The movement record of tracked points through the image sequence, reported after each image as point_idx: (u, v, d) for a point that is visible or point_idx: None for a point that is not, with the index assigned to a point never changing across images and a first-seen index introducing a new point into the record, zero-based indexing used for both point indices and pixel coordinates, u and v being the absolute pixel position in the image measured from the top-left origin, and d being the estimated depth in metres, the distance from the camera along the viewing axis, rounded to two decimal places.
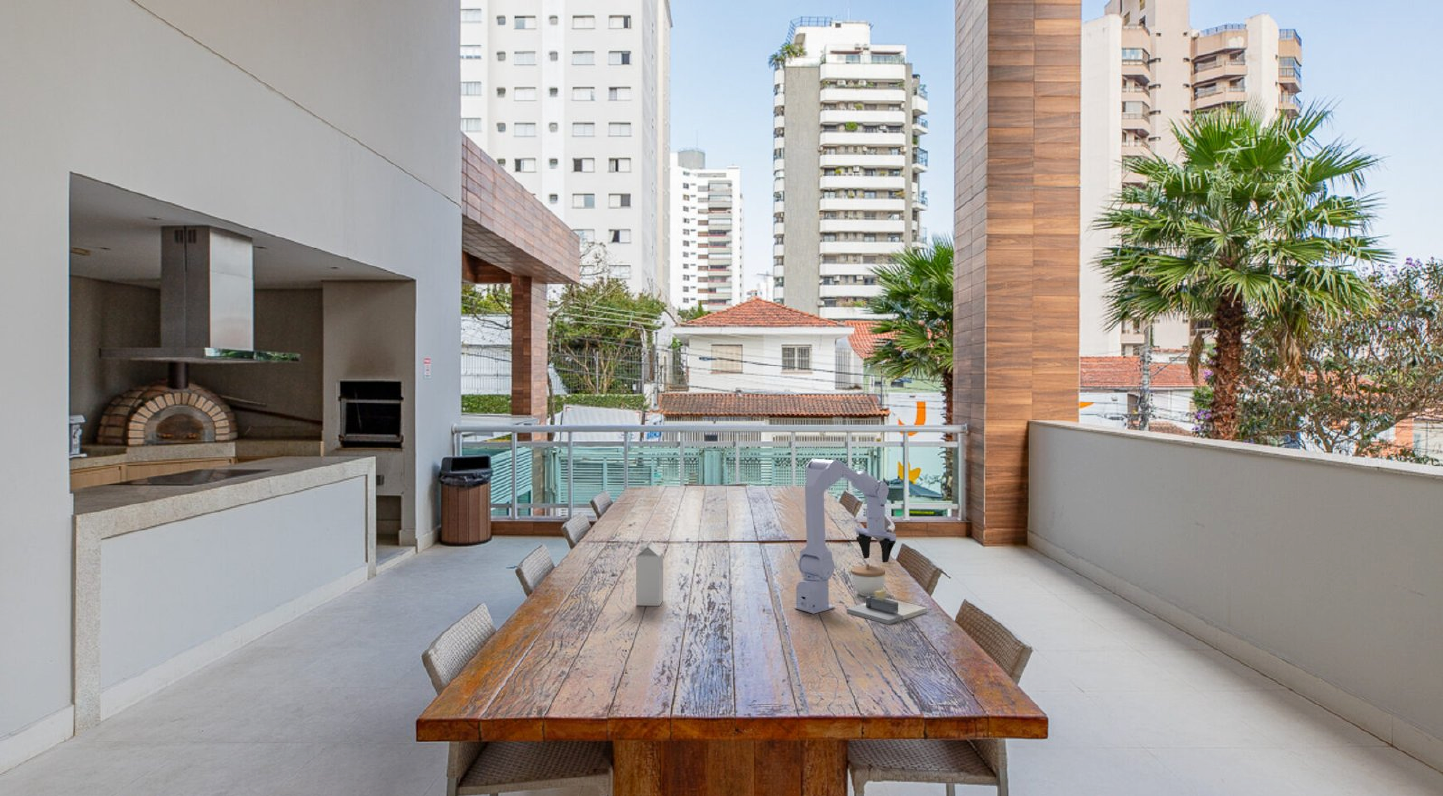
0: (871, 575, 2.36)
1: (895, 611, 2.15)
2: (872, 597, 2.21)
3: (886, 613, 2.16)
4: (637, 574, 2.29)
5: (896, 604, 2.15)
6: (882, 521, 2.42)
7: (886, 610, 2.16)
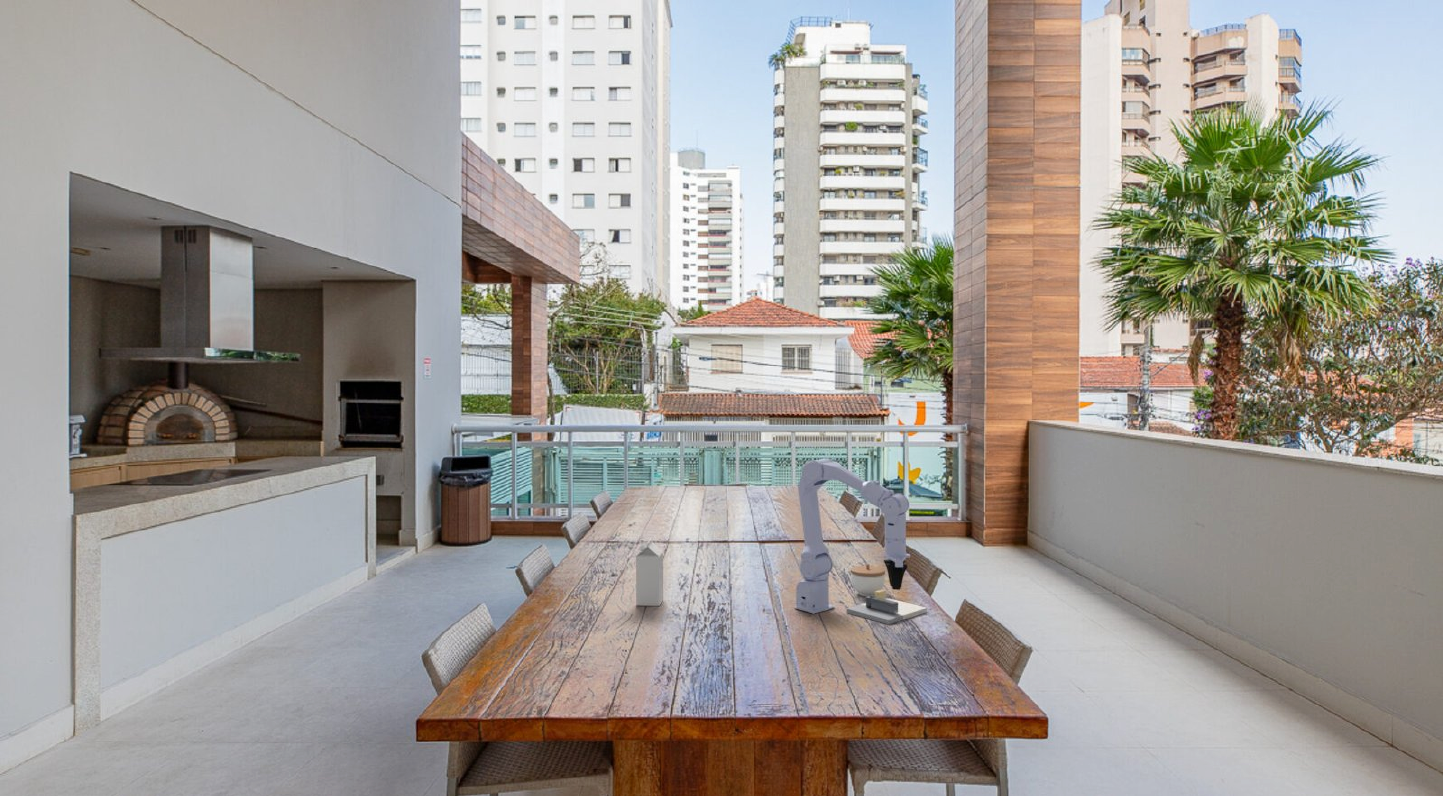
0: (871, 575, 2.36)
1: (895, 611, 2.15)
2: (872, 597, 2.21)
3: (886, 613, 2.16)
4: (637, 574, 2.29)
5: (896, 604, 2.15)
6: (896, 543, 2.08)
7: (886, 610, 2.16)
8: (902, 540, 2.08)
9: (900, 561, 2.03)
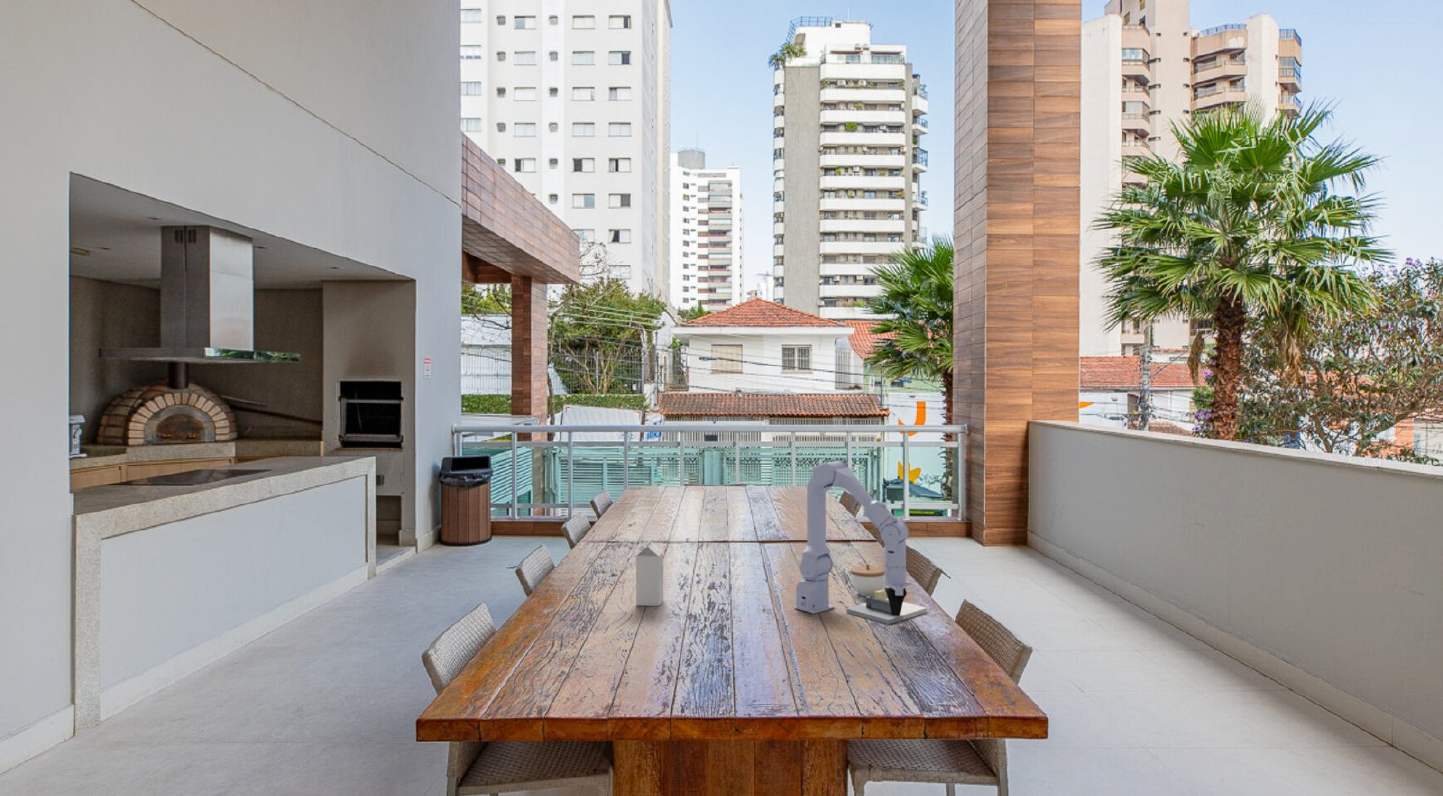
0: (871, 575, 2.36)
1: None
2: (872, 597, 2.21)
3: (886, 613, 2.16)
4: (637, 574, 2.29)
5: None
6: (896, 571, 2.08)
7: (886, 610, 2.16)
8: (902, 568, 2.08)
9: (900, 589, 2.03)
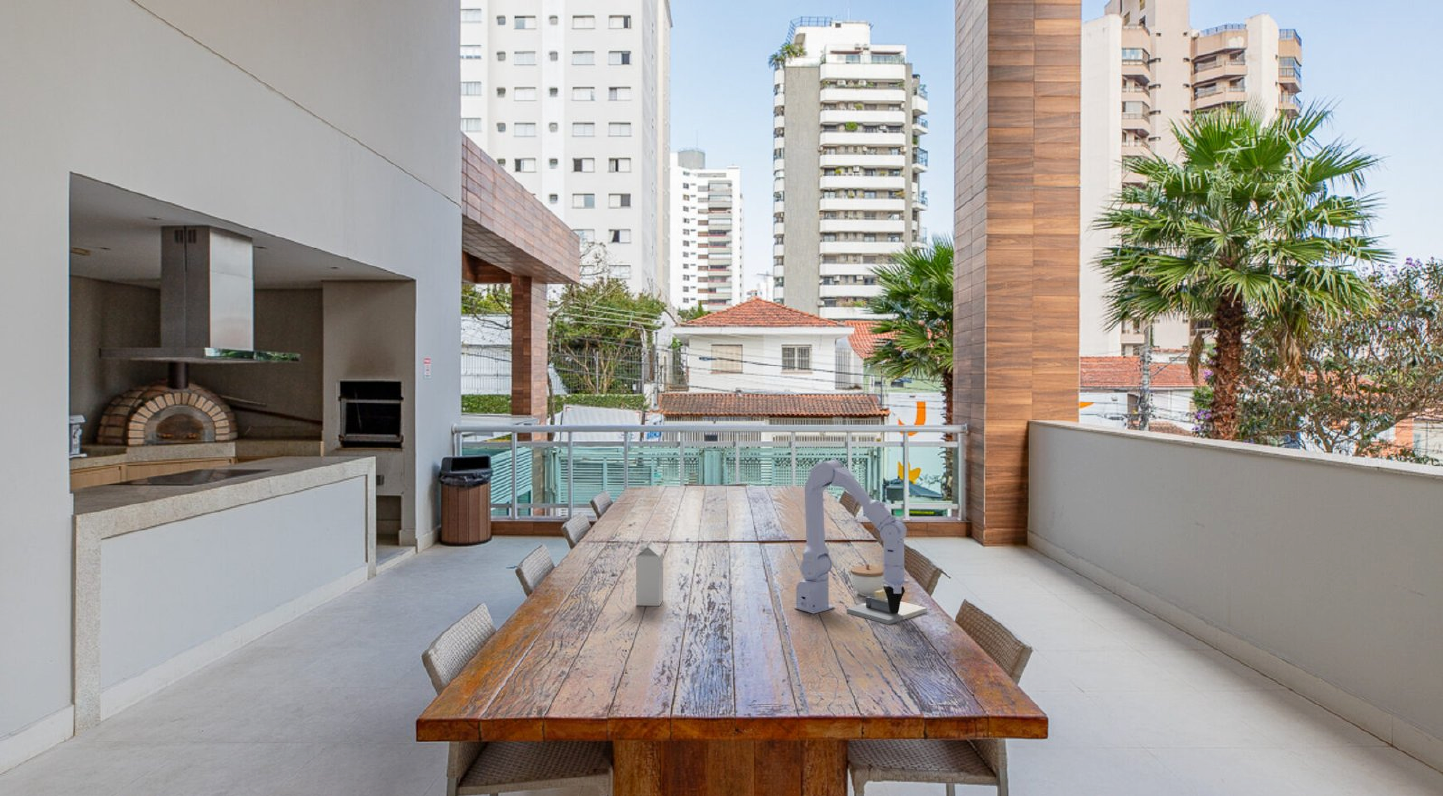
0: (871, 575, 2.36)
1: None
2: (872, 597, 2.21)
3: (886, 613, 2.16)
4: (637, 574, 2.29)
5: None
6: (894, 569, 2.10)
7: (886, 610, 2.16)
8: (900, 566, 2.11)
9: (898, 588, 2.06)
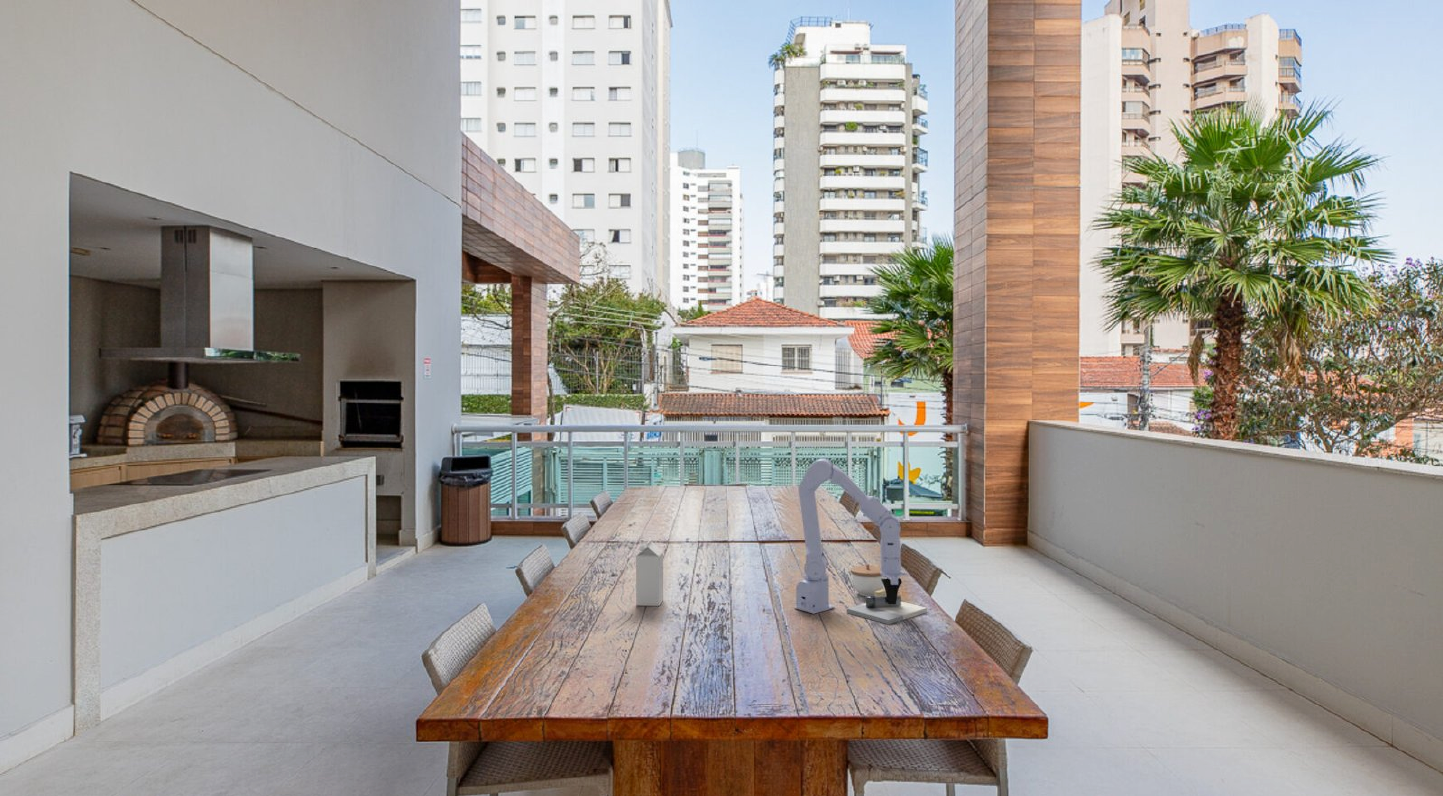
0: (871, 575, 2.36)
1: None
2: (873, 596, 2.22)
3: (886, 613, 2.16)
4: (637, 574, 2.29)
5: None
6: (891, 562, 2.19)
7: (892, 604, 2.22)
8: (897, 558, 2.19)
9: (895, 579, 2.14)
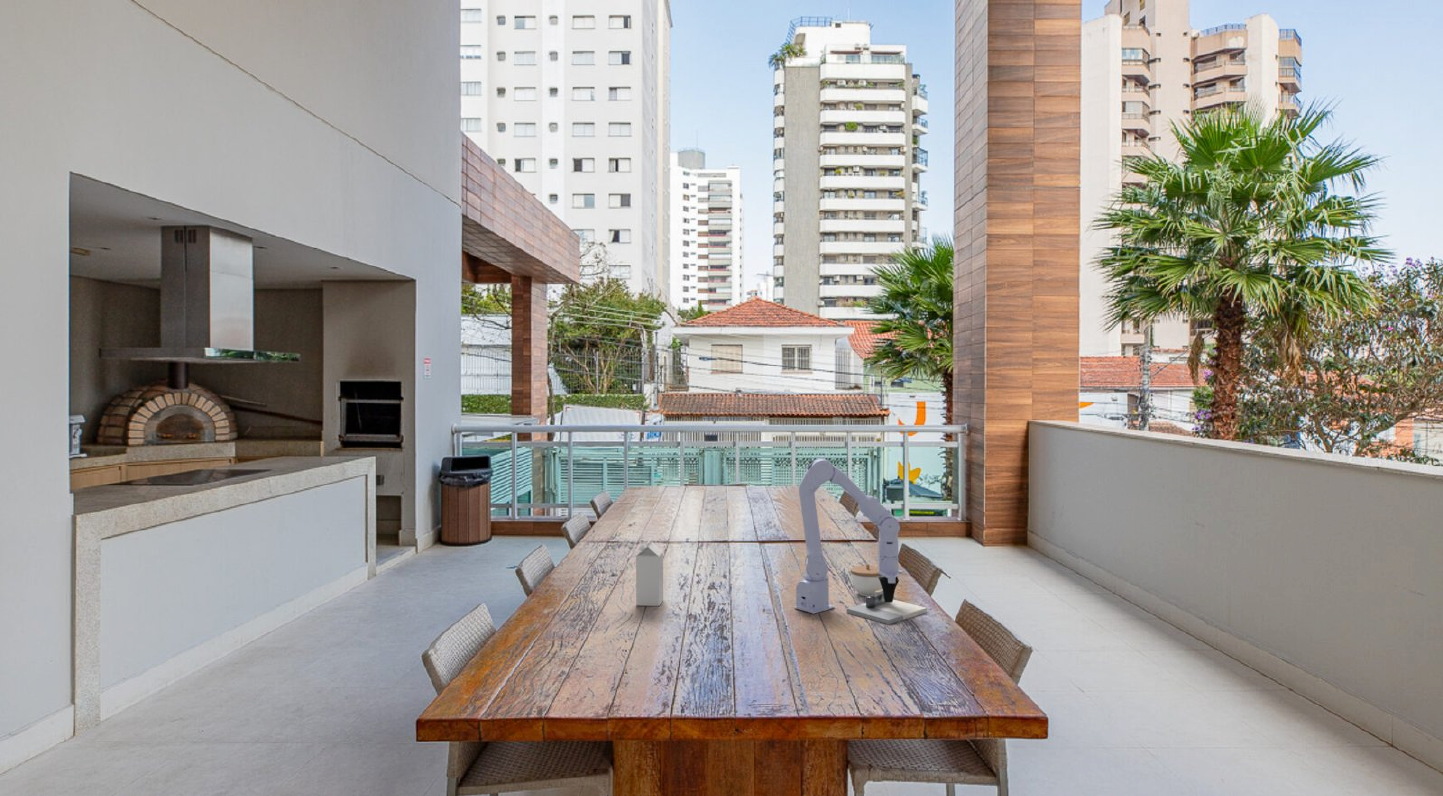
0: (871, 575, 2.36)
1: None
2: (872, 596, 2.22)
3: (886, 613, 2.16)
4: (637, 574, 2.29)
5: None
6: (889, 560, 2.22)
7: (884, 601, 2.26)
8: (895, 557, 2.22)
9: (893, 577, 2.17)
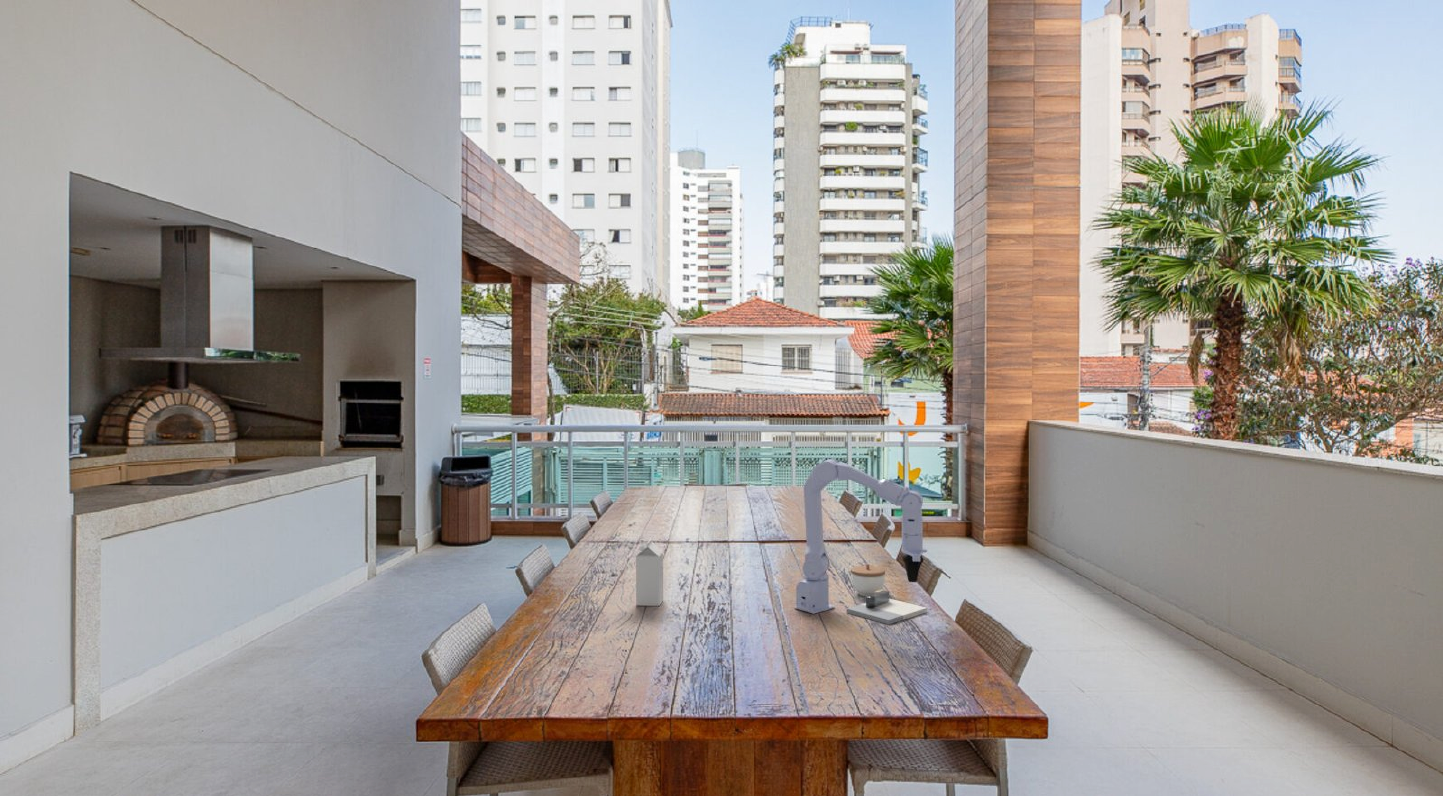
0: (871, 575, 2.36)
1: None
2: (872, 596, 2.22)
3: (886, 613, 2.16)
4: (637, 574, 2.29)
5: None
6: (913, 538, 2.14)
7: (884, 601, 2.26)
8: (919, 535, 2.14)
9: (917, 555, 2.10)
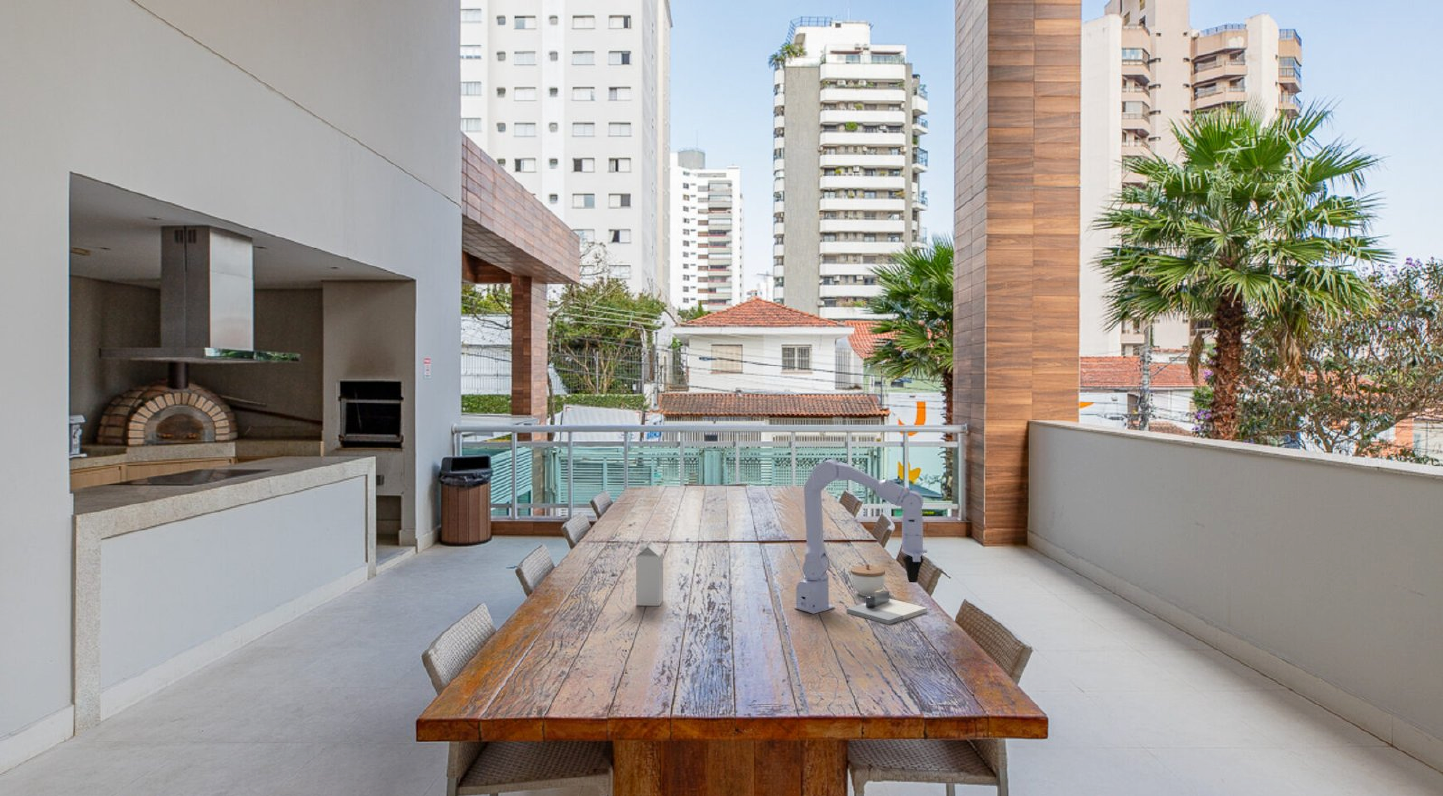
0: (871, 575, 2.36)
1: None
2: (872, 596, 2.22)
3: (886, 613, 2.16)
4: (637, 574, 2.29)
5: None
6: (913, 539, 2.14)
7: (884, 601, 2.26)
8: (919, 536, 2.14)
9: (918, 556, 2.09)
